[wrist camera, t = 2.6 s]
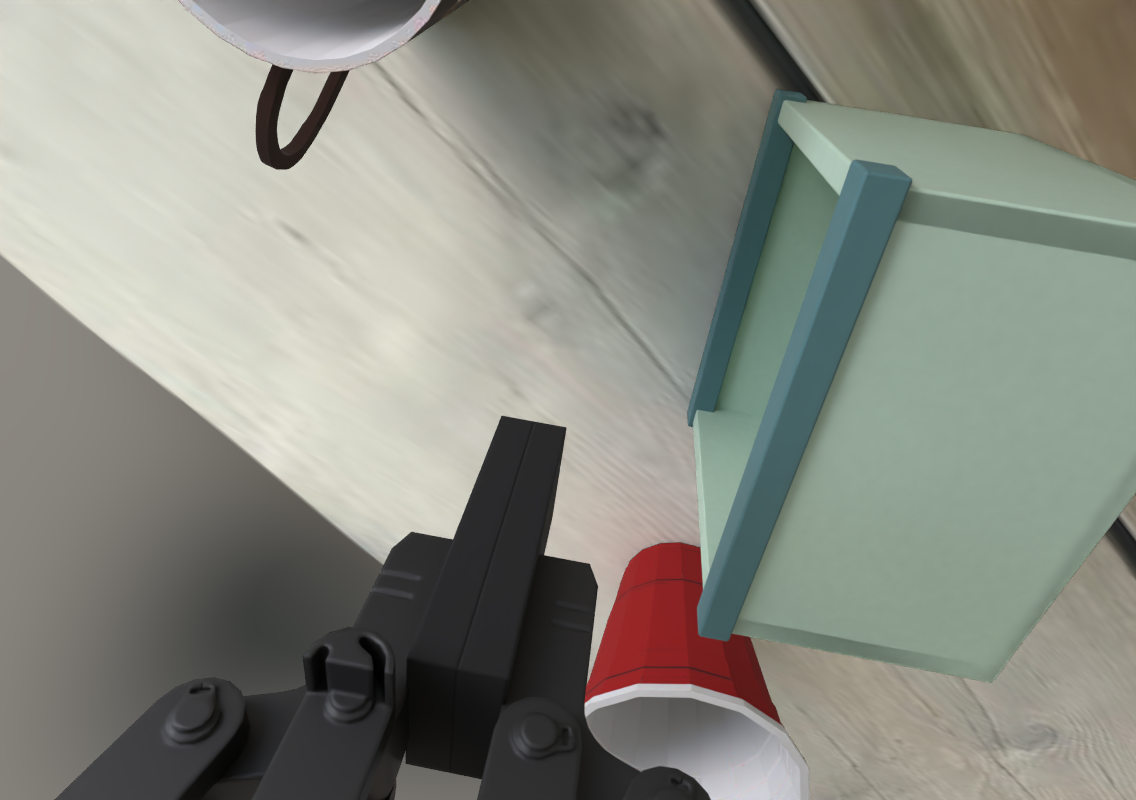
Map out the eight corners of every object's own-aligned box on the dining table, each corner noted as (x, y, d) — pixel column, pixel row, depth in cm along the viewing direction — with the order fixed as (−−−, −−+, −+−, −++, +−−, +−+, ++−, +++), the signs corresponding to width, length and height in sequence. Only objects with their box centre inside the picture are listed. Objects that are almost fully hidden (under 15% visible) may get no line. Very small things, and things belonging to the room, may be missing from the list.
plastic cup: (746, 482, 34) (781, 692, 24) (791, 625, 39) (836, 850, 29) (550, 524, 37) (506, 725, 27) (614, 651, 42) (597, 863, 32)
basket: (775, 88, 25) (865, 170, 13) (1028, 128, 24) (1336, 247, 13) (686, 412, 32) (697, 636, 21) (878, 447, 32) (992, 693, 21)
